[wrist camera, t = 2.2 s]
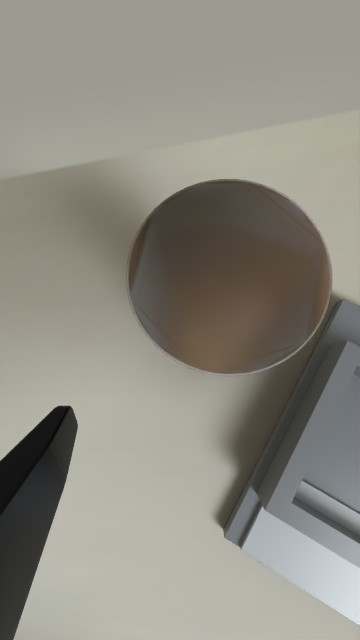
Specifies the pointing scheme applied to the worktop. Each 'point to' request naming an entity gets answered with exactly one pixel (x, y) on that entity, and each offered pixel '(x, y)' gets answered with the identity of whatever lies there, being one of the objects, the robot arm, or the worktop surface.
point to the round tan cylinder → (229, 277)
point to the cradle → (312, 477)
